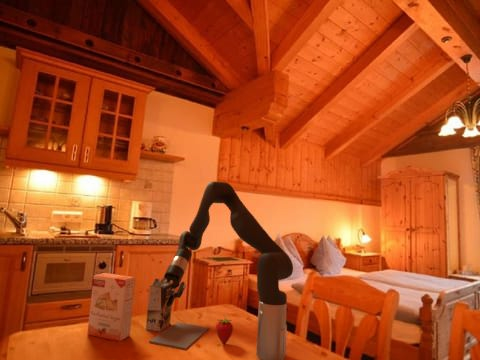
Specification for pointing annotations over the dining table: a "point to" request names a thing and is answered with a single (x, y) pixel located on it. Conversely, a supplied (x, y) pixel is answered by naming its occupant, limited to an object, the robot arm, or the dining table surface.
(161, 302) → the coffee box
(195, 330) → the slate mat
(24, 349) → the dining table surface
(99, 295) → the cracker box
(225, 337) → the strawberry
